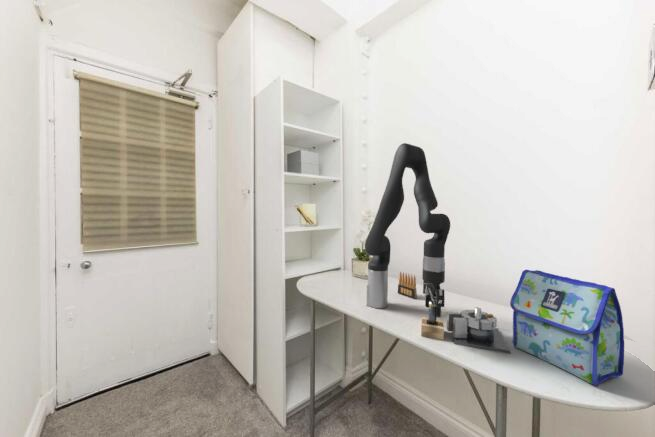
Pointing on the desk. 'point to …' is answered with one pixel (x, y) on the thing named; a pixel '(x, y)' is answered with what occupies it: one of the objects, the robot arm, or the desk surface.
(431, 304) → the dark grey cylinder
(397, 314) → the desk surface
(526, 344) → the lunch bag
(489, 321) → the grey cube ring
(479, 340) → the chuck base
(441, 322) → the holder
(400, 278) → the ammunition clip
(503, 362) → the desk surface
